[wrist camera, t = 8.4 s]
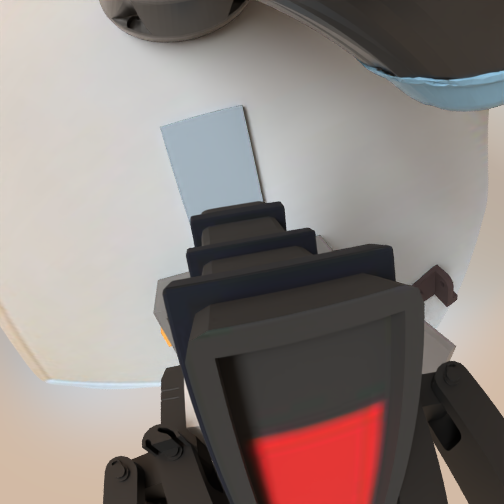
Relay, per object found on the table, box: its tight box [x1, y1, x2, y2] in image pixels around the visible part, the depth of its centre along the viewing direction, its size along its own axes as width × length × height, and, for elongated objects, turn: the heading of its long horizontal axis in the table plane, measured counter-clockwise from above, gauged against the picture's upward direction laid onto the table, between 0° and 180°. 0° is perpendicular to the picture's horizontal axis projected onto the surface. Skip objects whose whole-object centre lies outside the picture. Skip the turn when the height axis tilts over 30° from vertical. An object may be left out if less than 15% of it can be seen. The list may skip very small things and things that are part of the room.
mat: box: [160, 105, 263, 222], centre depth 29 cm, size 15×8×1 cm, turn 12°
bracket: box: [412, 265, 457, 307], centre depth 42 cm, size 6×12×5 cm, turn 114°
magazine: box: [162, 201, 424, 504], centre depth 11 cm, size 4×13×15 cm, turn 6°
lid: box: [422, 320, 456, 374], centre depth 28 cm, size 17×14×1 cm
